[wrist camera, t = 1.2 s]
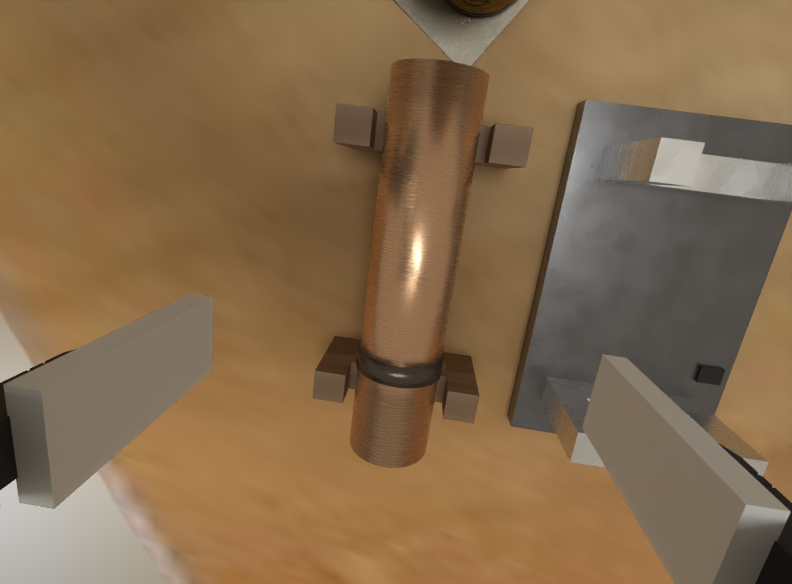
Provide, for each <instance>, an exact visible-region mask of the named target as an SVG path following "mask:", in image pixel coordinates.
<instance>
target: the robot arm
mask: <svg viewBox="0 0 792 584" xmlns="http://www.w3.org/2000/svg"><path fill="white" fill-rule="evenodd" d="M212 338H213V297H212V296H205V295H199V294H192V293H191V294H189V295H187V296H185V297H183V298H181V299H179V300H177V301H175V302H172V303H170V304H168V305H166V306H164V307H162V308H160V309H158V310H156V311H154V312H152V313H150V314H148V315H146V316H144V317H142V318H139V319H137V320H135V321H133V322H131V323H129V324H127V325H125V326H123V327H121V328H119V329H117V330H115V331H113V332H111V333H109V334H107V335H104V336H102V337H100V338H98V339H96V340H94V341H92V342H90V343H88V344H86V345H84V346H82V347H80V348H78V349H75V350H71V351H68V352H64V353H62V354H60V355H58V356H56V357H53V358H51V359H49V360H47V361H45V364H44V363H41V364H39V365H37V366H35V367H33V368H30V371H24V372H22V373H20V374H18V375H16V376H14V377H12V378H10V379H8V380H5V381H3V382H1V383H0V490H1V489H2V488H4V487H5V486H7V485H8V484H9V483H11V482H12V481H13V480H15V479H16V481H17V489H18V496H19V502H20V503H24V504H30V505H35V506H41V507H47V508H53V509H55V508H56V507H57V506H58V505H59V504H60V503H61V502H63V501H64V500H65V499H66V498H67V497H68V496H69V495H70V494H72V493H73V492H74V491H75V490H76V489H77V488H78V487H80V486H81V485H82V484H83V483H84V482H85V481H86V480H88V479H89V478H90V477H91V476H92V475H93V474H94V473H96V472H97V471H98V470H99V469H100V468H101V467H102V466H103V465H105V464H106V463H107V462H108V461H109V460H110V459H111V458H113V457H114V456H115V455H116V454H117V453H118V452H119V451H121V450H122V449H123V448H124V447H125V446H126V445H127V444H129V443H130V442H131V441H132V440H133V439H134V438H135V437H136V436H138V435H139V434H140V433H141V432H142V431H143V430H144V429H146V428H147V427H148V426H149V425H150V424H151V423H152V422H154V421H155V420H156V419H157V418H158V417H159V416H160V415H161V414H163V413H164V412H165V411H166V410H167V409H168V408H169V407H171V406H172V405H173V404H174V403H175V402H176V401H177V400H179V399H180V398H181V397H182V396H183V395H184V394H185V393H187V392H188V391H189V390H190V389H191V388H192V387H193V386H194V385H196V384H197V383H198V382H199V381H200V380H201V379H202V378H204V377H205V376H206V375H207V374H208V373H209V372H210V371H212ZM582 428H583V430H584V432H585V433H586V435H587V437H588V438H589V440H590V442H591V443H592V445H593V447H594V448H595V450H596V452H597V453H598V455H599V457H600V459H601V460H602V462H603V464H604V465H605V467H606V469H607V470H608V472H609V474H610V475H611V477H612V479H613V480H614V482H615V484H616V485H617V487H618V489H619V490H620V492H621V494H622V495H623V497H624V499H625V501H626V502H627V504H628V506H629V507H630V509H631V511H632V512H633V514H634V516H635V517H636V519H637V521H638V522H639V524H640V526H641V527H642V529H643V531H644V532H645V534H646V536H647V538H648V539H649V541H650V543H651V544H652V546H653V548H654V549H655V551H656V553H657V554H658V556H659V558H660V559H661V561H662V563H663V564H664V566H665V568H666V569H667V571H668V573H669V574H670V576H671V578H672V580H673V581H674V583H675V584H792V503H791V502H790V501H789V500H788V499H787V498H786V497H784V496H783V495H782V494H781V493H780V492H779V491H778V490H777V489H776V488H772V485H771V484H770V483H769V482H768V481H767V480H766V479H765V478H764V477H762V476H761V475H758V472H757V471H756V470H755V469H754V468H753V467H752V466H750V465H749V464H748V463H747V462H746V461H745V460H744V459H743V458H742V457H740V456H739V455H737V454H735V453H734V452H732V451H731V450H729V449H727V448H726V447H724V446H723V445H721V444H720V443H717V442H716V441H715V440H714V439H713V438H712V437H711V436H709V435H708V434H707V433H706V432H705V431H704V430H703V429H702V428H701V427H700V426H699V425H698V424H697V423H696V422H695V421H693V420H692V419H691V418H690V417H689V416H688V415H687V414H686V413H685V412H684V411H683V410H682V409H681V408H680V407H679V406H677V405H676V404H675V403H674V402H673V401H672V400H671V399H670V398H669V397H668V396H667V395H666V394H665V393H664V392H662V391H661V390H660V389H659V388H658V387H657V386H656V385H655V384H654V383H653V382H652V381H651V380H650V379H649V378H648V377H646V376H645V375H644V374H643V373H642V372H641V371H640V370H639V369H638V368H637V367H636V366H635V365H634V364H633V363H632V362H630V361H629V360H628V359H627V358H625V357H618V356H611V355H604V354H603V355H602V358H601V362H600V366H599V369H598V373H597V376H596V380H595V383H594V387H593V391H592V394H591V398H590V401H589V405H588V409H587V412H586V416H585V419H584V423H583V426H582Z"/></svg>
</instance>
